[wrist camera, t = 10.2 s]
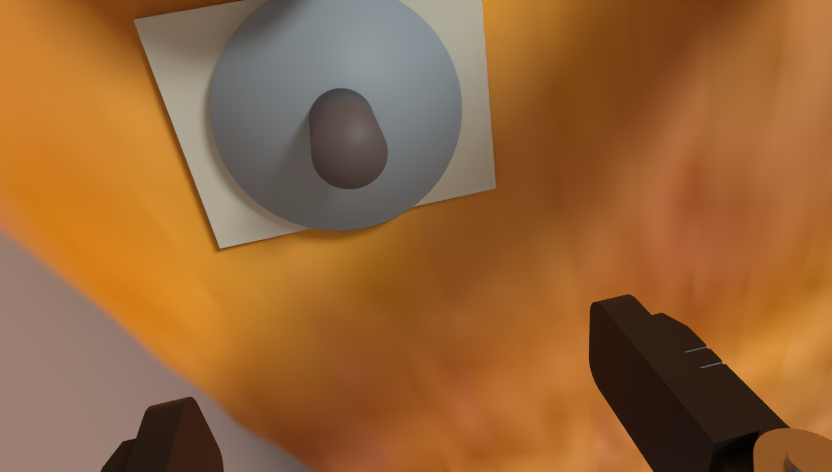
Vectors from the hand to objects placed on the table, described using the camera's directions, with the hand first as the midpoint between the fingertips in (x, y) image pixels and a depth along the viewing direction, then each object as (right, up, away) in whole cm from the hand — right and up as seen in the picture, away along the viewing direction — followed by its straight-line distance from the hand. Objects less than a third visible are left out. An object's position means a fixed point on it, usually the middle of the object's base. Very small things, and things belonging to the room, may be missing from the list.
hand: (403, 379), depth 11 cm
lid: (-4, +9, +17) cm, 20 cm away
